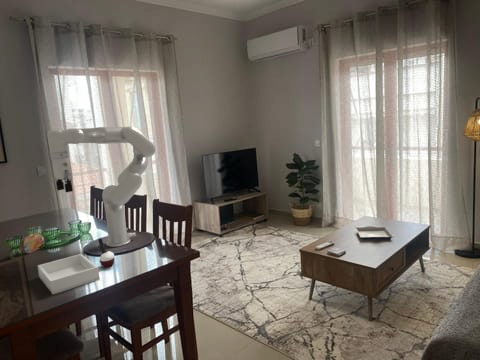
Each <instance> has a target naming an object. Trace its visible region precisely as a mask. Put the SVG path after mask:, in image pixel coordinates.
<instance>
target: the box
mask: <svg viewBox="0 0 480 360" xmlns="http://www.w3.org/2000/svg"><path fill="white" fill-rule="evenodd" d="M37 271H38V277H39V279H40V280H41V282H42V283H43V284H44V286H45V287H46V288H47V290H48V291H49V293H51V295H56V294H60V293H62V292H65V291H68V290H72V289H74V288H77V287H80V286H84V285H88V284H89V283H93V282H97V281H99V280H100V271H99V266H97V265H96V264H95V263H94V262H92V261H91V260H90V259H88V258H87V257H86V256H85V255H84V254H82V253H79V254H75V255H71V256H68V257H65V258H59V259H55V260H53V261H50V262H49V261H48V262H45V263H41V264H38V265H37Z"/></svg>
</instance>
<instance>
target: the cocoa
mask: <svg viewBox="0 0 480 360" xmlns="http://www.w3.org/2000/svg"><path fill="white" fill-rule="evenodd" d="M98 243H99V244H98V245H99V247H100V251H101V255H100V256H99V264H100V266H102V267H103V268H106V269H107V268H110V267H112V266H114V264H115V254H114V253H113V252H112V251H111V250H110V251H107V252H106V248H105V245H104V241H103V238H102V237H101V238H98Z"/></svg>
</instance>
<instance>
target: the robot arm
mask: <svg viewBox="0 0 480 360" xmlns="http://www.w3.org/2000/svg"><path fill="white" fill-rule="evenodd" d="M47 141H48V146H49V153H50V159H51V160H52V166H53V167H52V168H53V174H54V175H53V176H54V179H55V185H56V189H57V191H62V190H63V191H64V190H65V193H70V192H73V189H74V188H73V181H72V180H73V179H72V178H73V171H72V168H71V167H72V166H71V163H70V159H69V157H70V156H69V150H68V145H70V144H71V145H77V144H86V143H87V144H100V145H103V144H104V145H105V144H106V145H107V144H108V145H109V144H130V145H131V146H132V152H133V153H132V154H133V158H132V161H131V162H130V163H129V164H128V165H127V166H126V167H125V168H124V169H123V170H122V172H121V173H119V175H118V177H117V182H118V185H113V184H111V185H108V186H106V187H105V188H104V189H103V191H102V194H101V195H102V196H101V197H102V202H103V206H104V212H105V220H106V229H107V236H108V237H107V238H108V240H107V241H106V242H105V245H106V246H107V247H112V248H113V247H114V248H115V247H121V246H125V245H127V244H128V245H129V244H130V242H131V237H132V238H133V237H136V236H137V234H136V231H135V232H127V231H128V230H127V223H126V222H127V221H126V215H125V208H124V205H125V204H126V203H128V202H129V201H130V199H131V198H132V197H133V196H134V195H135V194H136V192H138V190H139V189H140V188H141V185H142V183H143V178H142V175H143V174H144V173H145V171H146V169H147V168H148V165H149V158H151V157H153V156H154V155H155V153H156V146H155V143H153V142H152V141H151V140H150V139H149V138H148V137H147V136H145V134H144V133H142V132H141V131H140V130H138V129H137V127H134V126H99V127H91V128H90V127H89V128H87V127H86V128H84V127H83V128H76V127H75V128H74V127H72V128H71V127H70V128H66V129H52V130H49V131H47ZM51 160H50V161H51Z"/></svg>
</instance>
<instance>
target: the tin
mask: <svg viewBox="0 0 480 360" xmlns="http://www.w3.org/2000/svg"><path fill="white" fill-rule="evenodd" d="M45 242H46V236H45V234H43V233H42V232H35V233H32V234H30V235H28V236H26V237H23V238H22V239H21V241H20V243H19V248H20V251H21V252H22V253H24V254H31V253H34V252H35V251H38V250H40V248H39V247H40V246H41V245H42V244H44V245H45V244H46V243H45Z"/></svg>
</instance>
